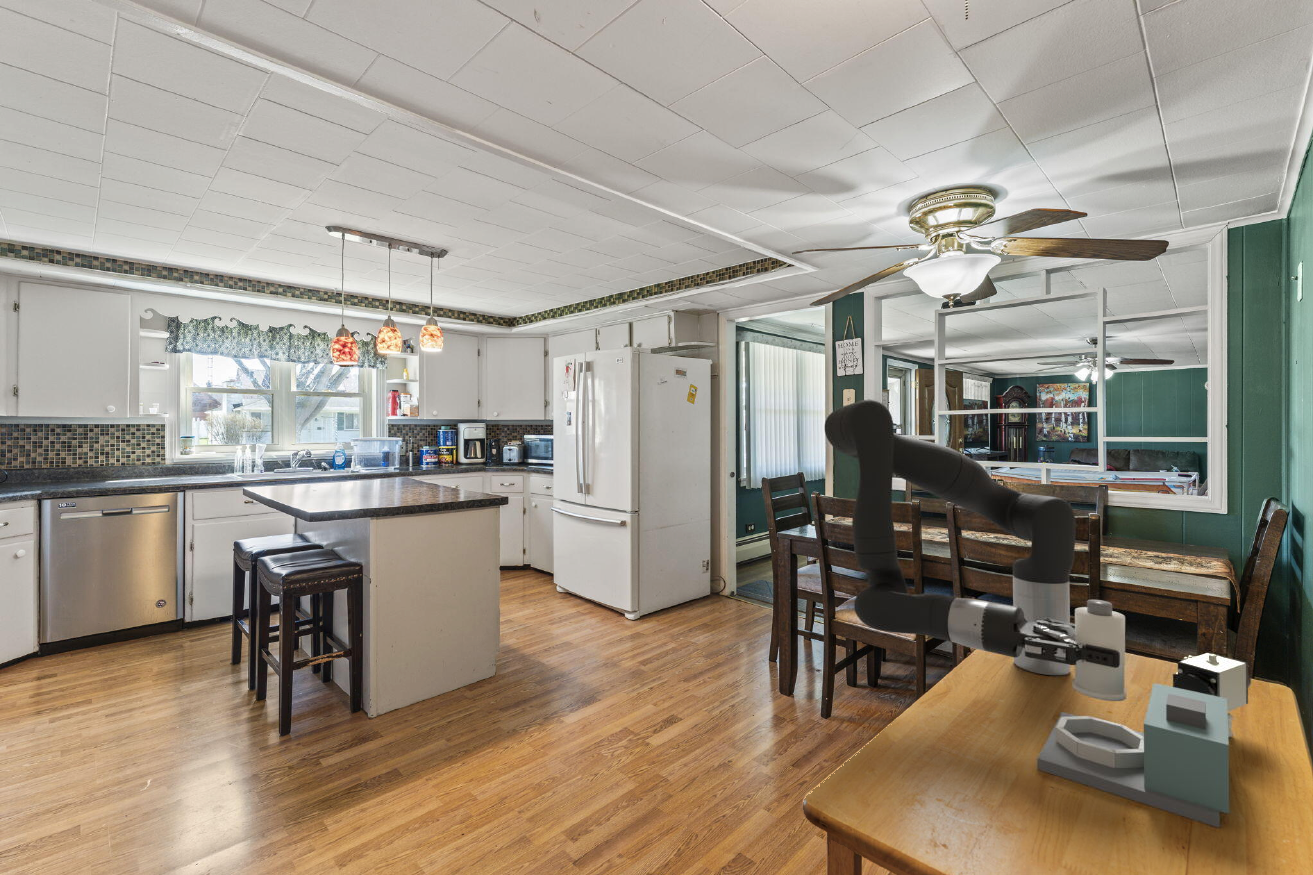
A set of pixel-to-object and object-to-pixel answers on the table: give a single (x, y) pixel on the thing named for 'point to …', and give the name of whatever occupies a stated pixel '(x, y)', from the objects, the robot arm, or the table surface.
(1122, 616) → the bottle
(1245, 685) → the pneumatic valve
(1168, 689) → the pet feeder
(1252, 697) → the table surface
